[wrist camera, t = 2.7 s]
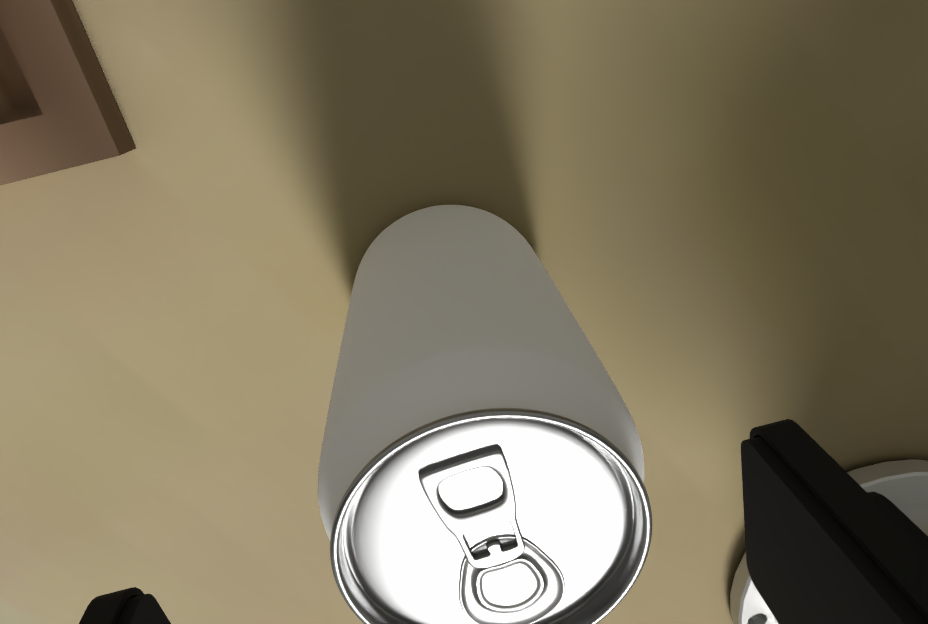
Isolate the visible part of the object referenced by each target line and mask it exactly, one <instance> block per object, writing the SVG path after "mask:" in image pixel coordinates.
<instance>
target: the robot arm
mask: <svg viewBox="0 0 928 624" xmlns="http://www.w3.org/2000/svg"><path fill="white" fill-rule="evenodd" d="M741 460H742V481H743V501H744V522H745V542H746V552H745V554H744V556H743V558H742V560H741V562H740V564H739V566H738V568H737V571H736V573H735V576H734V580H733V584H732V589H731V593H730V608H731V616H732V619H733V623H734V624H928V461H927V460H915V459H912V460H900V461H889V462H883V463H879V464H874V465H870V466H866V467H862V468H858V469H855V470H852V471H850V472H846V471H845V470H844V469H843V468H842V467H841V466H840V465H839V464H838V463H837V462H836V461H835V460H834V459H833V458H832V457H831V456H830V455H828V454H827V453H826V452H825V451H824V450H823V449H822V448H821V447H820V446H819V445H818V444H817V443H816V442H815V441H814V440H813V439H812V438H811V437H810V436H809V435H808V434H807V433H806V432H805V431H804V430H803V429H802V428H801V427H800V426H799V425H798V424H797V423H796V422H794V421H793V420H790V419H786V420H783V421H779V422H775V423H771V424H767V425H763V426H759V427H755V428H753V429H752V430H751V432H750V439H748V440H744V441H742V443H741ZM79 624H171V623H170V621H169V620H168V618H167V617H166V615H165V613H164V612H163V610H162V609H161V607H160V605H159V604H158V602H157V601H156V599H155V598H154V597H153V595H151V594H144V593H143V592H142V591H141V590H140V589H138V588H136V587H134V588H129V589H125V590H121V591H117V592H113V593H109V594H105V595H102V596H98V597H96V598H94V599H93V600H92V601H91V602H90V604H89V605H88V607H87V609H86V611H85V613H84V615H83V617H82V619H81V621H80V623H79Z"/></svg>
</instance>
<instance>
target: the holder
mask: <svg viewBox="0 0 928 624" xmlns="http://www.w3.org/2000/svg"><path fill="white" fill-rule="evenodd" d="M135 148H136V147H135V145H134V143H133V140H132V138H131V136H130V133H129V131H128V129H127V127H126V124H125V122H124V120H123V117H122V115H121V113H120V111H119V108H118V106H117V104H116V101H115V99H114V97H113V94H112V92H111V90H110V88H109V85H108V83H107V81H106V78H105V76H104V74H103V72H102V69H101V67H100V65H99V62H98V60H97V58H96V55H95V53H94V51H93V49H92V46H91V44H90V42H89V39H88V37H87V35H86V33H85V30H84V28H83V26H82V23H81V21H80V19H79V16H78V14H77V12H76V10H75V7H74V5H73V3H72V0H0V185H4V184H8V183H12V182H16V181H20V180H23V179H27V178H31V177H35V176H39V175H43V174H47V173H51V172H55V171H59V170H63V169H67V168H71V167H75V166H79V165H83V164H87V163H91V162H95V161H99V160H103V159H107V158H111V157H115V156H119V155H122V154H124V153H126V152H128V151H131V150H133V149H135Z"/></svg>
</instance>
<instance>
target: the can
mask: <svg viewBox="0 0 928 624" xmlns="http://www.w3.org/2000/svg"><path fill="white" fill-rule="evenodd" d="M318 501H319V508H320V513H321V517H322V521H323V524H324V527H325V530H326V533H327V535H328V537H329V540H330V558H331V565H332V570H333V574H334V577H335V581H336V583H337V586H338V588H339V590H340V592H341V594H342V596H343V598H344V600H345V601H346V603H347V604H348V606H349V607H350V609H351V610H352V611H353V612H354V614H355V615H356V616H357V617H358V618H359V619H360V620H361V621H362V622H363V623H364V624H597V623H598V622H599V621H601V620H602V619H603V618H604V617H605V616H606V615H608V614H609V613H610V612H611V611H612V610H613V609H614V608H615V607H616V606H617V605H618V604H619V603H620V602H621V600H622V599H623V598H624V597H625V596H626V594H627V593H628V592H629V590H630V589H631V587H632V586H633V584H634V583H635V581H636V579H637V578H638V576H639V574H640V572H641V570H642V568H643V565H644V563H645V560H646V557H647V554H648V551H649V547H650V542H651V535H652V513H651V506H650V502H649V498H648V494H647V491H646V489H645V486H644V458H643V450H642V445H641V441H640V438H639V434H638V432H637V429H636V426H635V424H634V421H633V419H632V416H631V414H630V412H629V410H628V408H627V406H626V405H625V403H624V401H623V399H622V397H621V395H620V393H619V392H618V390H617V388H616V386H615V385H614V383H613V381H612V380H611V378H610V376H609V374H608V373H607V371H606V369H605V367H604V366H603V364H602V362H601V361H600V359H599V357H598V356H597V354H596V352H595V351H594V349H593V347H592V346H591V344H590V342H589V341H588V339H587V337H586V335H585V334H584V332H583V330H582V329H581V327H580V325H579V324H578V322H577V320H576V319H575V317H574V315H573V314H572V312H571V310H570V309H569V307H568V305H567V304H566V302H565V301H564V299H563V297H562V296H561V294H560V292H559V291H558V289H557V287H556V286H555V284H554V282H553V281H552V279H551V277H550V276H549V274H548V273H547V271H546V269H545V268H544V266H543V264H542V263H541V261H540V260H539V258H538V257H537V255H536V253H535V252H534V250H533V249H532V247H531V246H530V245H529V243H528V242H527V241H526V239H525V238H524V237H523V236H522V235H521V234H520V233H519V232H518V231H517V230H516V229H515V228H514V227H513V226H511V225H510V224H509V223H508V222H506V221H505V220H503V219H501V218H500V217H498V216H496V215H494V214H492V213H490V212H487V211H485V210H482V209H478V208H474V207H470V206H463V205H439V206H432V207H427V208H424V209H420V210H417V211H414V212H412V213H410V214H407V215H405V216H403V217H402V218H400V219H398V220H397V221H395V222H394V223H392V224H391V225H389V226H388V227H387V228H386V229H384V230H383V231H382V232H381V233H380V234H379V235H378V236H377V237H376V239H375V240H374V241H373V242H372V243H371V245H370V246H369V248H368V249H367V251H366V253H365V254H364V256H363V258H362V260H361V262H360V265H359V267H358V270H357V273H356V277H355V281H354V285H353V289H352V294H351V299H350V303H349V308H348V313H347V318H346V323H345V328H344V333H343V338H342V343H341V348H340V353H339V358H338V363H337V369H336V374H335V379H334V384H333V389H332V394H331V400H330V405H329V410H328V415H327V421H326V426H325V432H324V437H323V443H322V449H321V456H320V463H319V471H318Z"/></svg>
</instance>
